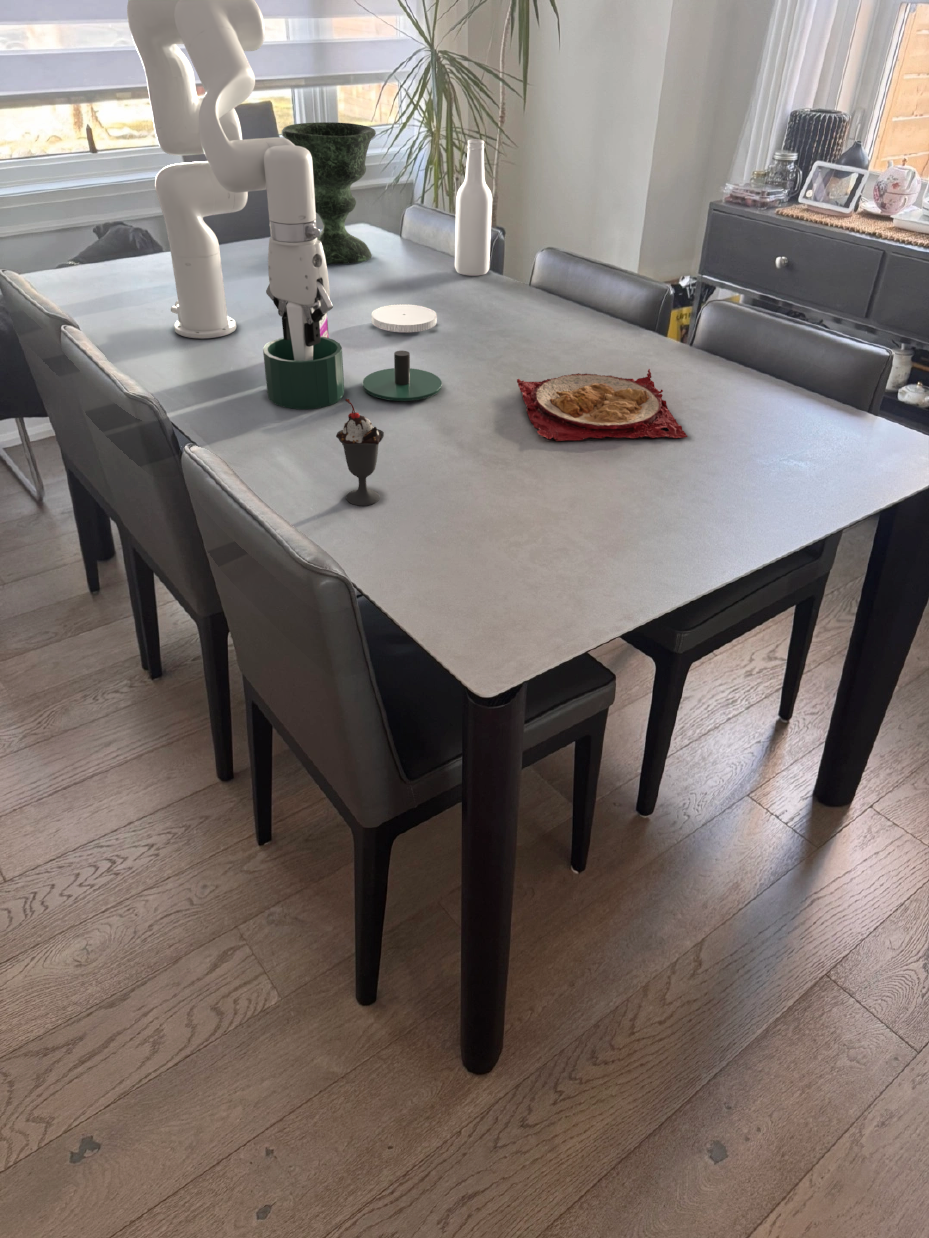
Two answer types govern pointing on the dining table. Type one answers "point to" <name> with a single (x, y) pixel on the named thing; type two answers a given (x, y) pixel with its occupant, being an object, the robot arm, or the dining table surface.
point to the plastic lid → (404, 318)
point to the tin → (304, 375)
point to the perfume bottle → (298, 332)
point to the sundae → (360, 454)
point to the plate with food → (598, 407)
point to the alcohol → (473, 216)
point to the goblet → (335, 181)
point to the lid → (402, 381)
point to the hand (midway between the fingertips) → (302, 340)
